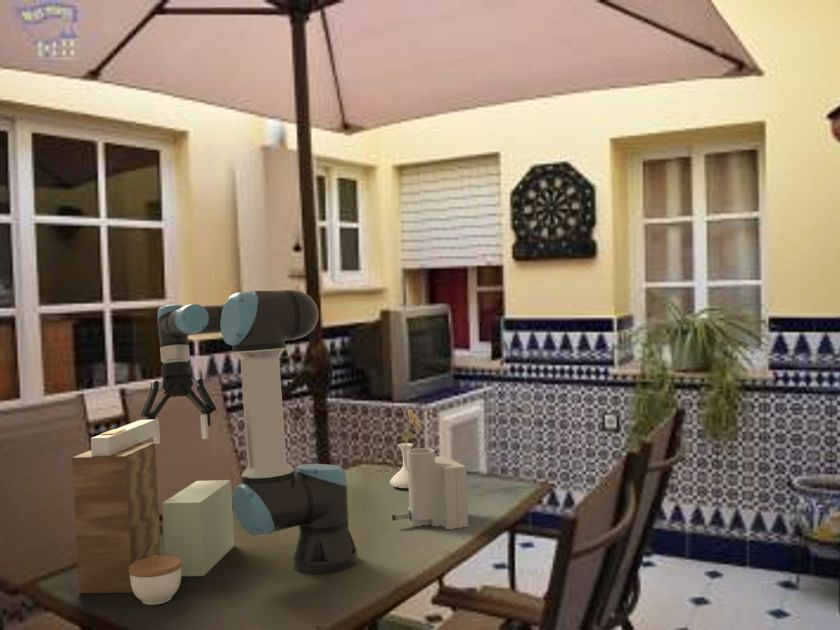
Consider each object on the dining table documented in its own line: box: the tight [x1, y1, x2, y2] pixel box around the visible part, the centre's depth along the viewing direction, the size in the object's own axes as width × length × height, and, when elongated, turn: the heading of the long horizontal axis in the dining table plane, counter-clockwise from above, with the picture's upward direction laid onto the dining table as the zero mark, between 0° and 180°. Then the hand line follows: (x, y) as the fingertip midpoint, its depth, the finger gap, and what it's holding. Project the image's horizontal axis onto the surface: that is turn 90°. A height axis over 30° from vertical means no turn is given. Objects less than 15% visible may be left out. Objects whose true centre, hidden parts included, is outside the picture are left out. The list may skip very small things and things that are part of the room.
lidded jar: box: [129, 555, 182, 606], centre depth 173 cm, size 11×11×9 cm
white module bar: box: [90, 419, 156, 456], centre depth 191 cm, size 25×4×4 cm, turn 175°
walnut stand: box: [71, 442, 162, 594], centre depth 186 cm, size 16×13×30 cm
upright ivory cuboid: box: [161, 479, 235, 577], centre depth 198 cm, size 22×9×17 cm, turn 175°
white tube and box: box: [391, 447, 469, 530], centre depth 221 cm, size 16×19×20 cm
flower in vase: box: [389, 408, 423, 489], centre depth 265 cm, size 13×11×25 cm
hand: (181, 441), depth 218 cm, fingers open, 13 cm apart
